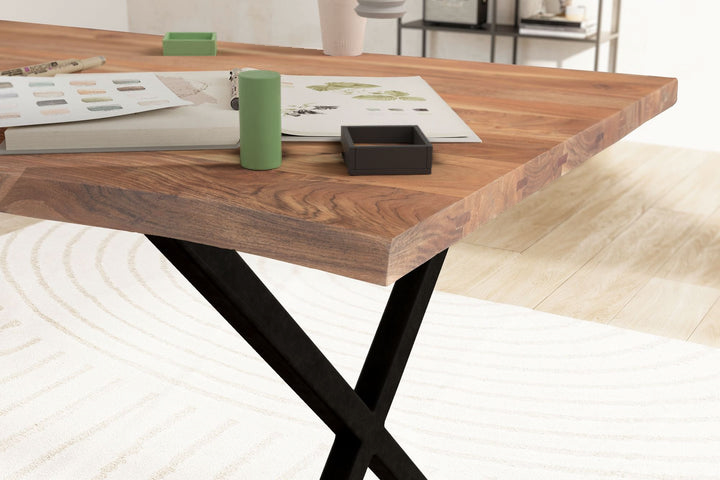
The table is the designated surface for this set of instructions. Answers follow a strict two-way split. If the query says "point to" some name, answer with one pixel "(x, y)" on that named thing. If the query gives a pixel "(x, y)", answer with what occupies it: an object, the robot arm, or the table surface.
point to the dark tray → (386, 150)
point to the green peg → (260, 119)
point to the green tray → (190, 44)
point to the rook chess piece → (380, 9)
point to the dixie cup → (341, 27)
